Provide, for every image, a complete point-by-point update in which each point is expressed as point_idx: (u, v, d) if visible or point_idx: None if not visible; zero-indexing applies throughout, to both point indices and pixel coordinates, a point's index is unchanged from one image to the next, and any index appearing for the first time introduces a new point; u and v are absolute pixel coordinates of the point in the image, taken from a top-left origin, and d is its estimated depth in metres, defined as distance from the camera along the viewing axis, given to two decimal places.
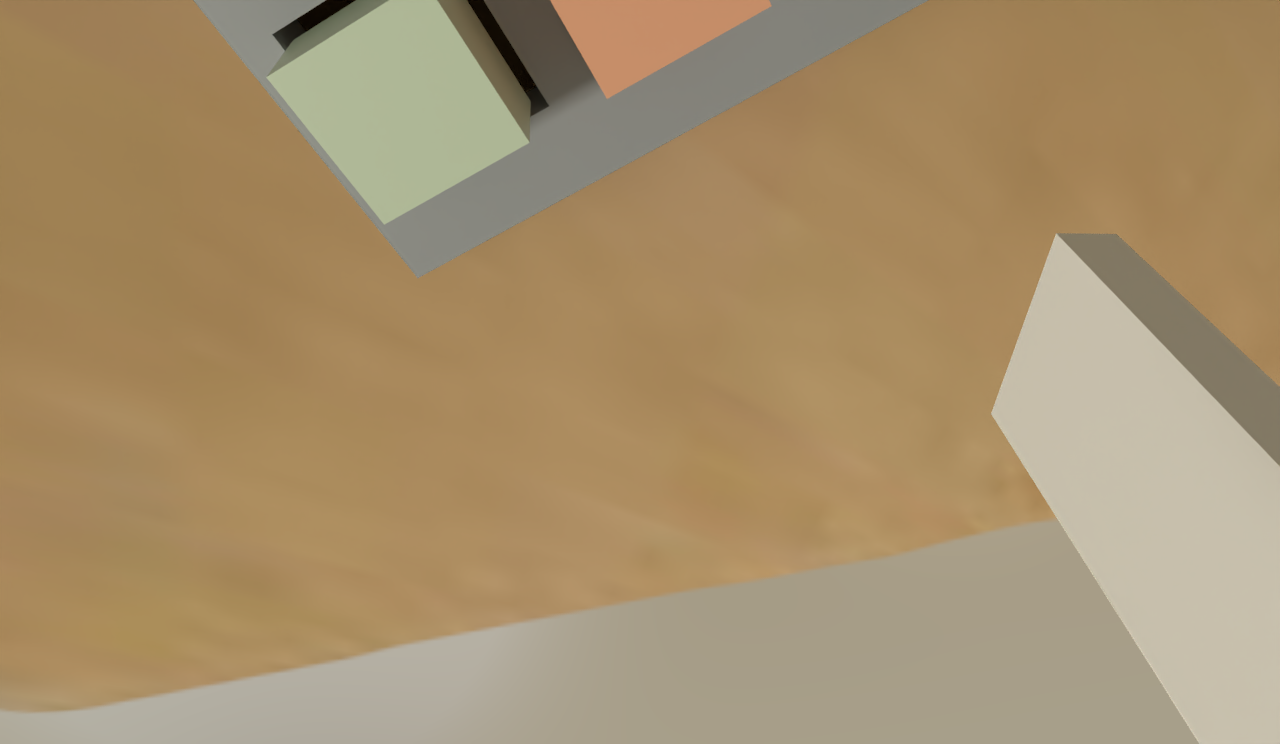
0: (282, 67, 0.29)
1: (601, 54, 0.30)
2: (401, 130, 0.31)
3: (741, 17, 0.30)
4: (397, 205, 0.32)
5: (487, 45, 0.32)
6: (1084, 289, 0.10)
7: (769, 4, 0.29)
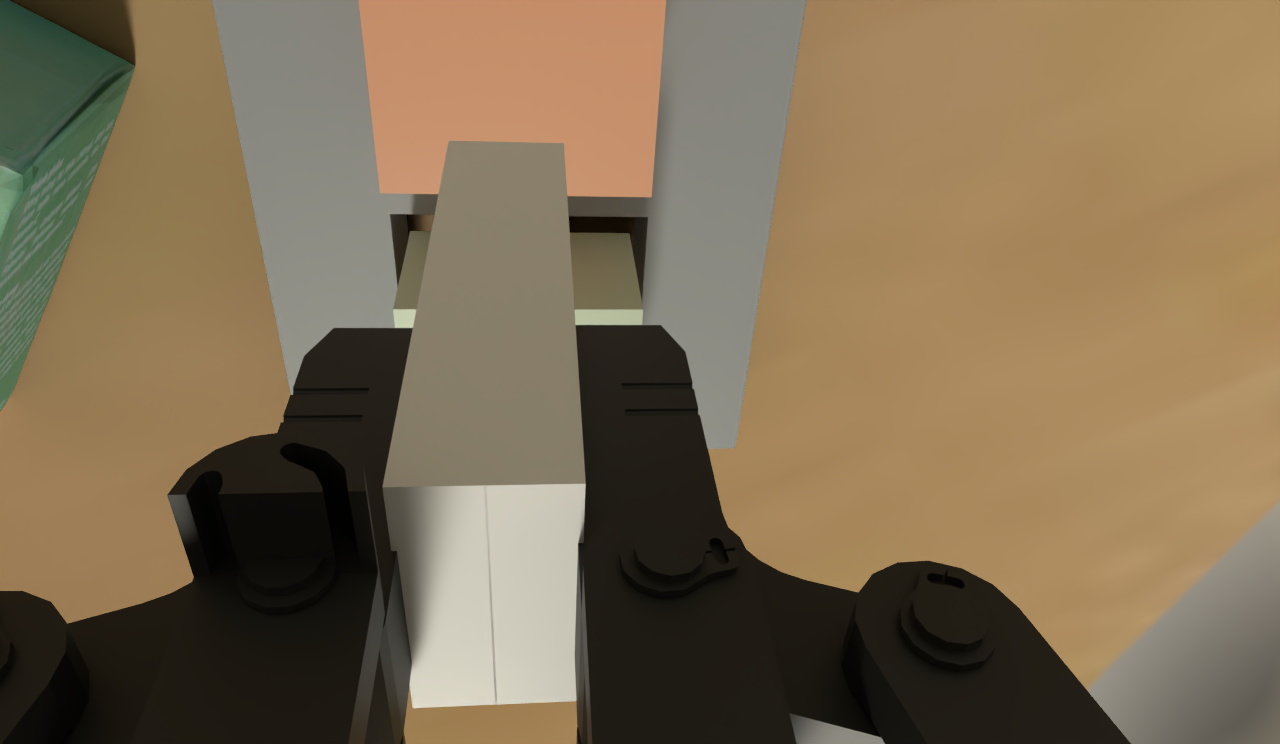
0: None
1: (592, 173, 0.21)
2: None
3: None
4: None
5: None
6: None
7: None
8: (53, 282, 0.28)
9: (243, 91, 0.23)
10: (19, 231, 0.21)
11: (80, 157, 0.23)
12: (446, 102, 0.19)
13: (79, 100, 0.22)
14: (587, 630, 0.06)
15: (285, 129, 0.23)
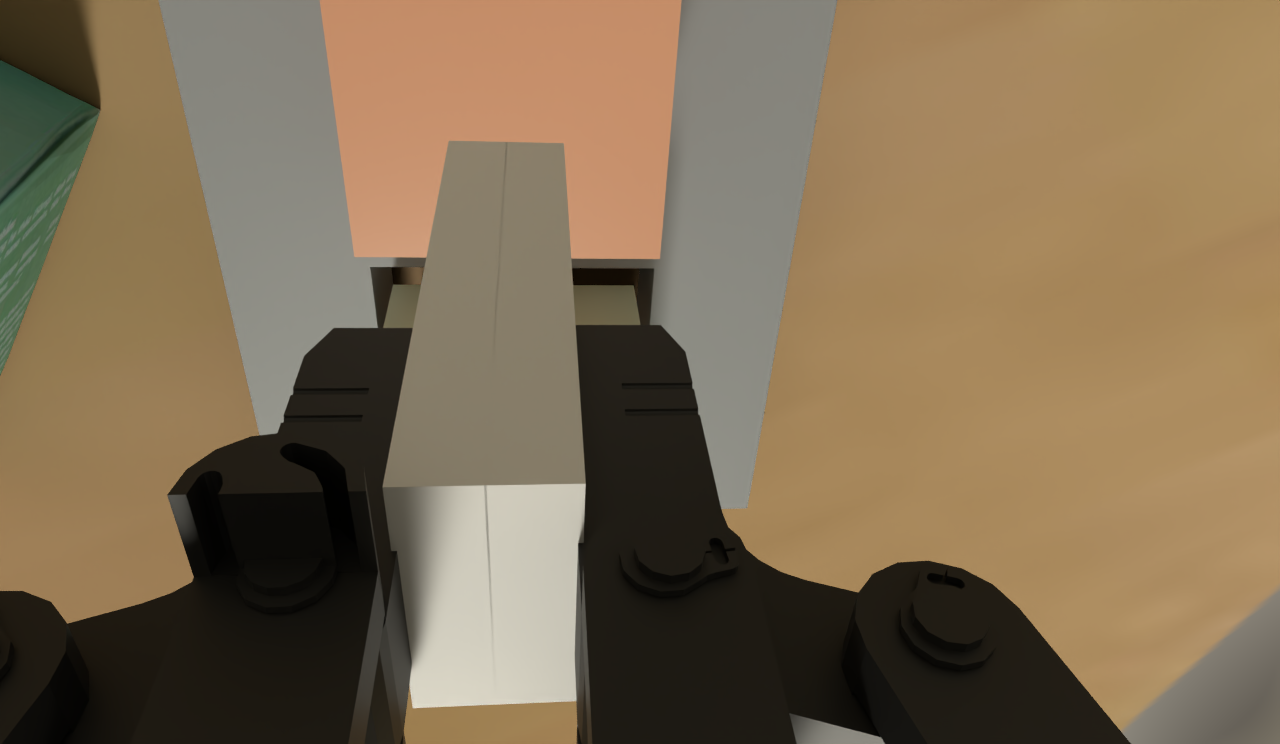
0: None
1: (594, 233, 0.18)
2: None
3: None
4: None
5: None
6: None
7: None
8: (12, 339, 0.25)
9: (205, 136, 0.20)
10: None
11: (36, 214, 0.21)
12: (427, 158, 0.17)
13: (33, 155, 0.20)
14: (587, 630, 0.06)
15: (252, 177, 0.21)
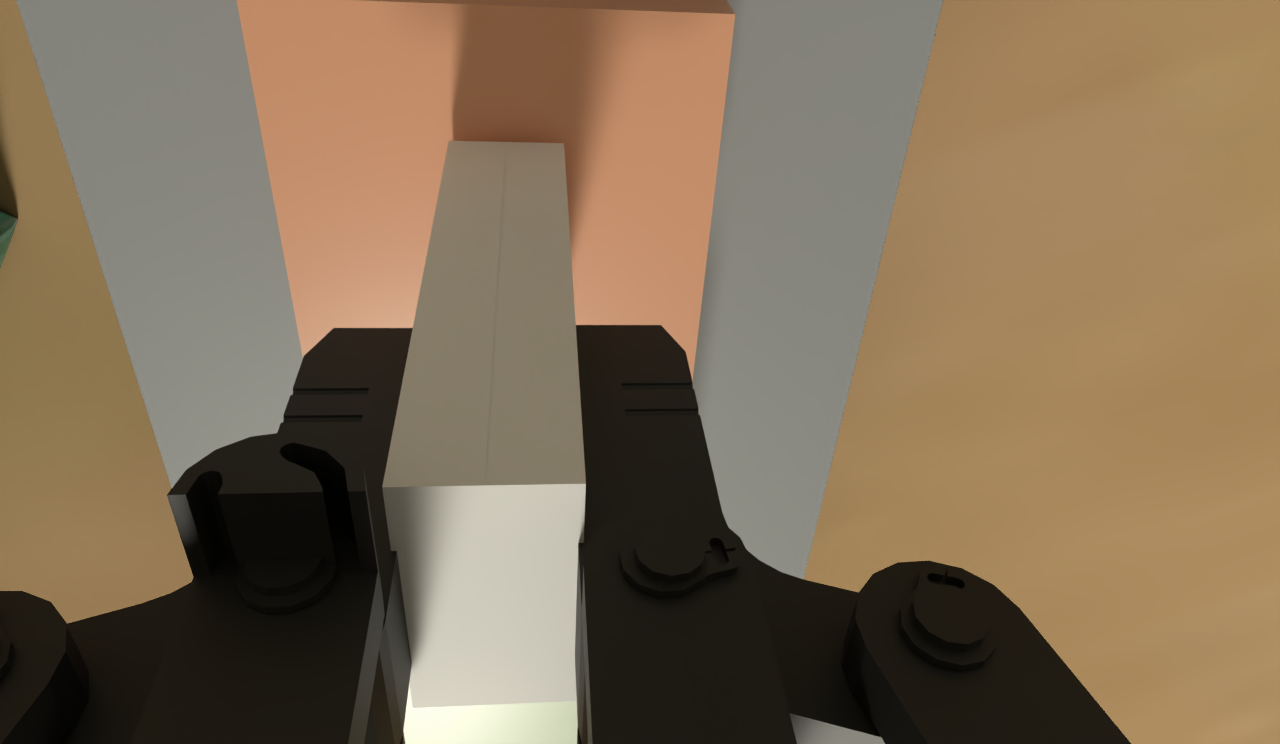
0: None
1: None
2: None
3: (714, 92, 0.12)
4: None
5: None
6: None
7: (728, 18, 0.12)
8: None
9: (117, 257, 0.16)
10: None
11: None
12: (400, 283, 0.13)
13: None
14: (587, 630, 0.06)
15: (180, 304, 0.17)
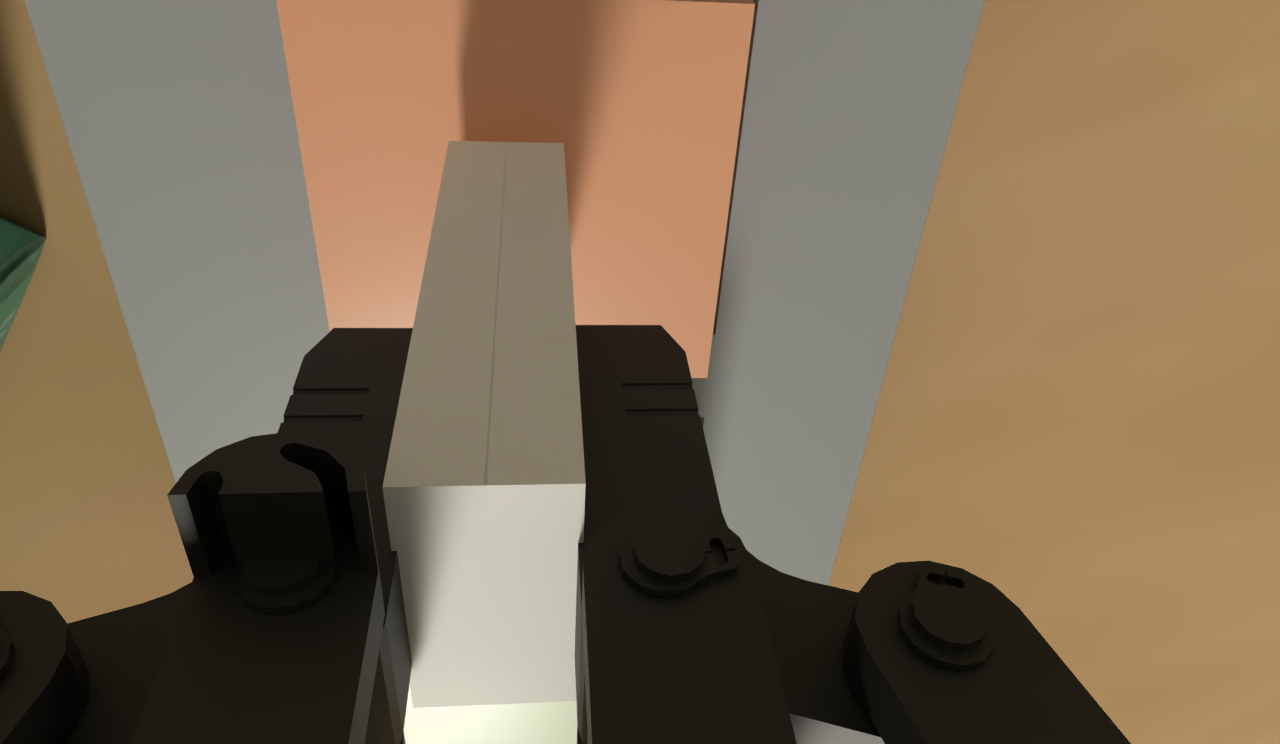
0: None
1: None
2: (555, 714, 0.17)
3: (733, 80, 0.13)
4: None
5: None
6: None
7: (748, 7, 0.12)
8: None
9: (128, 270, 0.16)
10: None
11: None
12: None
13: None
14: (587, 630, 0.06)
15: (192, 318, 0.16)
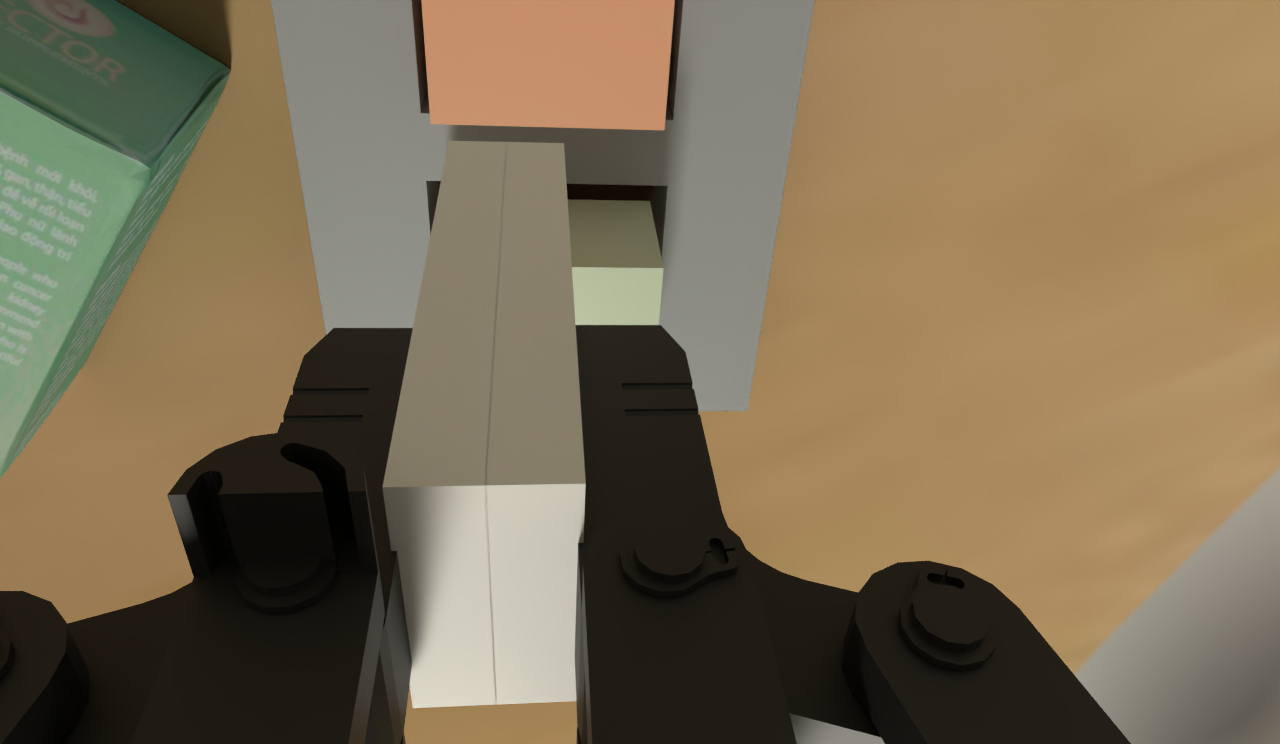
0: None
1: (613, 108, 0.24)
2: None
3: None
4: None
5: None
6: None
7: None
8: (135, 263, 0.30)
9: (293, 63, 0.24)
10: (135, 217, 0.23)
11: (183, 152, 0.26)
12: (489, 43, 0.23)
13: (192, 101, 0.24)
14: (587, 630, 0.06)
15: (331, 100, 0.25)
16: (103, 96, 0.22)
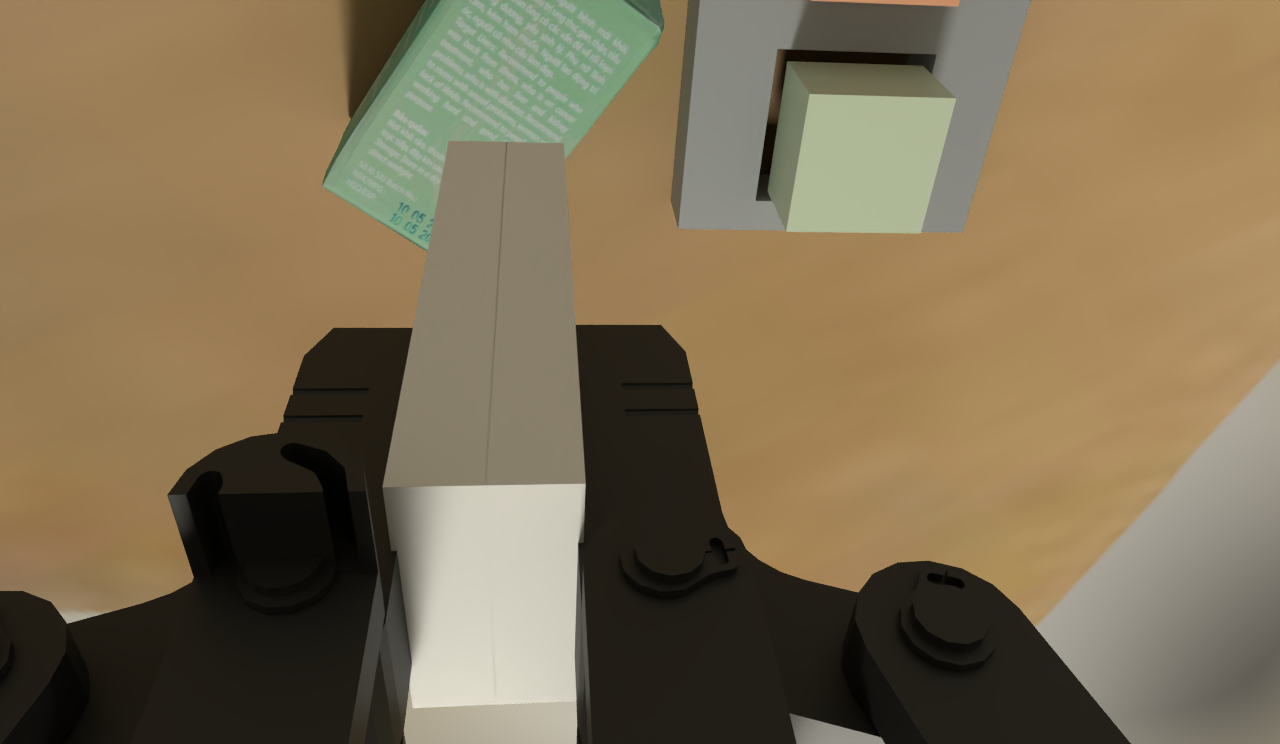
0: (788, 218, 0.40)
1: None
2: (878, 176, 0.39)
3: None
4: (917, 215, 0.40)
5: (868, 72, 0.39)
6: None
7: None
8: None
9: None
10: None
11: None
12: None
13: None
14: (587, 630, 0.06)
15: None
16: None
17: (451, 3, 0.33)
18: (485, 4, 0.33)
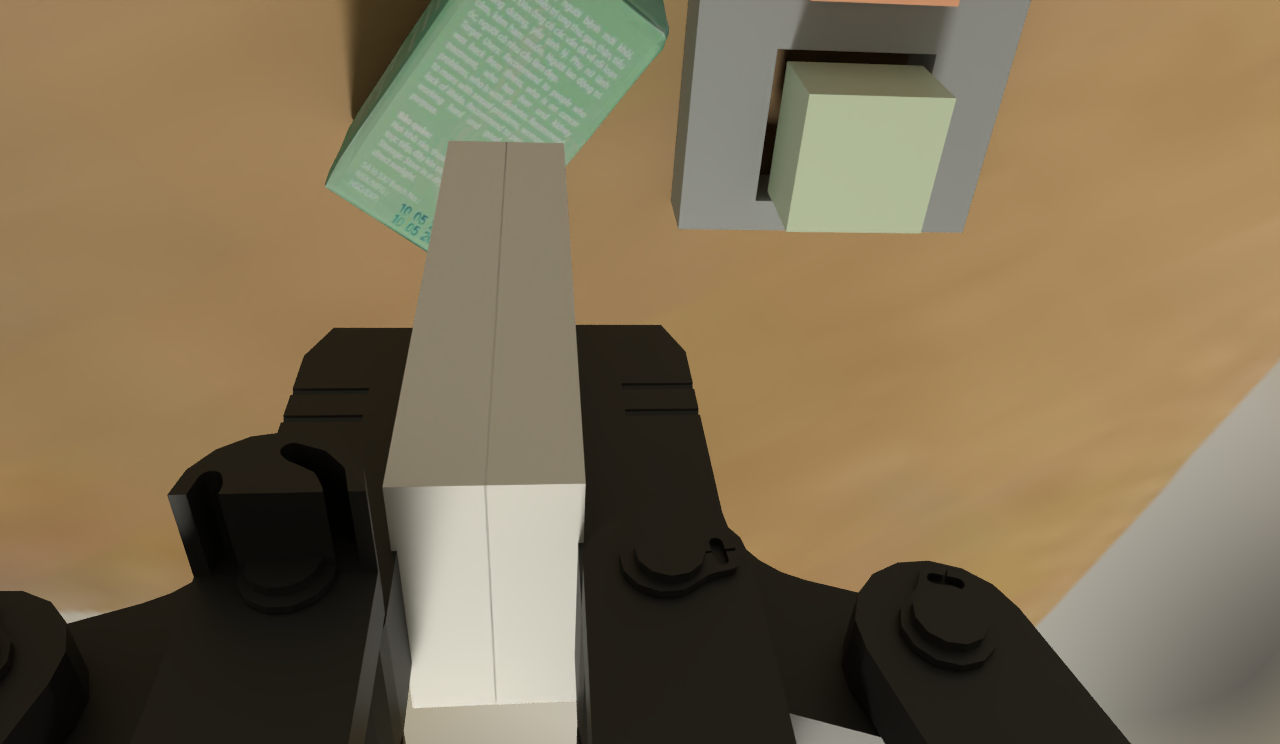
0: (788, 218, 0.40)
1: None
2: (878, 176, 0.39)
3: None
4: (917, 215, 0.40)
5: (868, 72, 0.39)
6: None
7: None
8: None
9: None
10: None
11: None
12: None
13: (663, 3, 0.37)
14: (587, 630, 0.06)
15: None
16: None
17: (457, 6, 0.33)
18: (491, 7, 0.33)
